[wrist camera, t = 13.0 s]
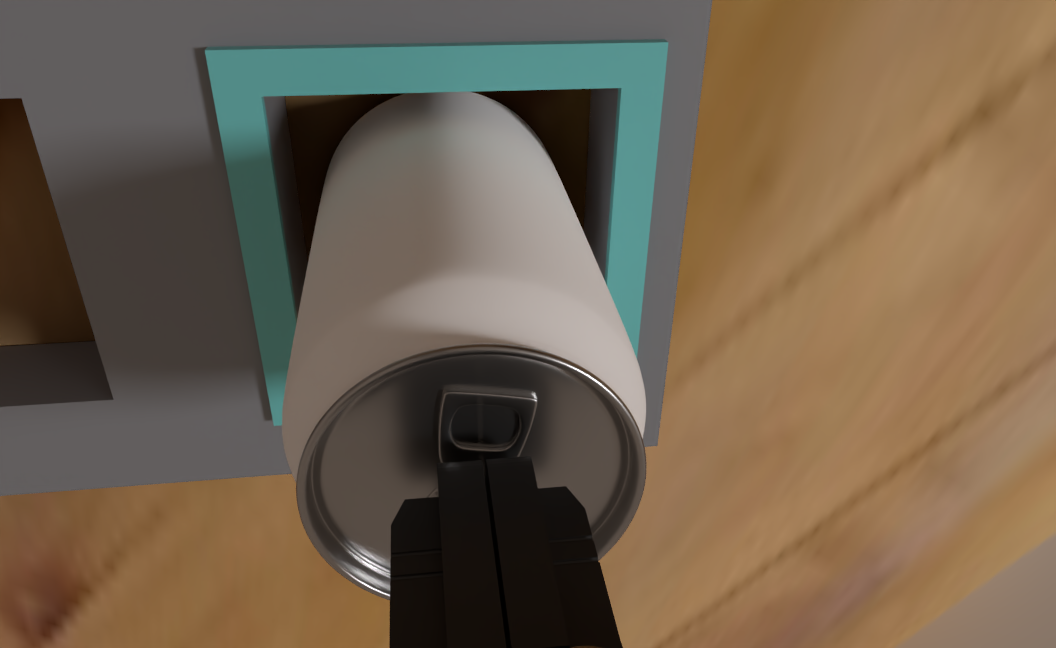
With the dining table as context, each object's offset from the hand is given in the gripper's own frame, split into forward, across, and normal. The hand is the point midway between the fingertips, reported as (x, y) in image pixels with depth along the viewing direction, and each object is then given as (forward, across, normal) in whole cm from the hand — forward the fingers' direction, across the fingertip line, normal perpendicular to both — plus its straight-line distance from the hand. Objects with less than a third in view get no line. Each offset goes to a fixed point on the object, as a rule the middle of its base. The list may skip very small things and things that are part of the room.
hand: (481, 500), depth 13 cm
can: (+12, 0, 0) cm, 12 cm away
